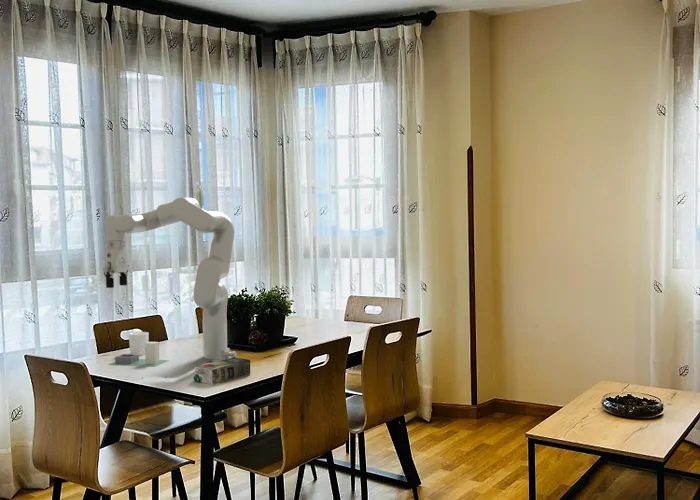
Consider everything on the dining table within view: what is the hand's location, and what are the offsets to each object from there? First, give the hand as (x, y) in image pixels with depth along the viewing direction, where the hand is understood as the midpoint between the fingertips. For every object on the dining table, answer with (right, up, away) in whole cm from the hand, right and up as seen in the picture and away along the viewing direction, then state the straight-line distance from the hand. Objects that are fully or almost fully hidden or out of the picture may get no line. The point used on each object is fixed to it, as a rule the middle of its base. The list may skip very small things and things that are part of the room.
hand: (116, 286), depth 290 cm
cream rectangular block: (+20, -29, -18) cm, 39 cm away
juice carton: (+50, -32, -37) cm, 70 cm away
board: (+14, -30, -16) cm, 37 cm away
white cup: (+9, -30, +1) cm, 31 cm away
